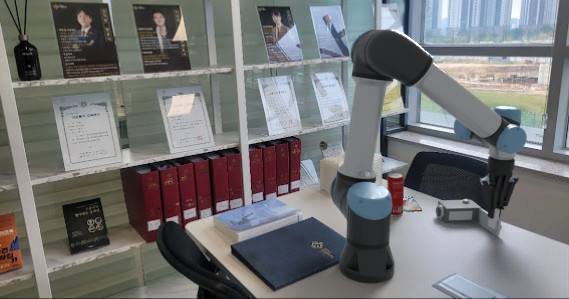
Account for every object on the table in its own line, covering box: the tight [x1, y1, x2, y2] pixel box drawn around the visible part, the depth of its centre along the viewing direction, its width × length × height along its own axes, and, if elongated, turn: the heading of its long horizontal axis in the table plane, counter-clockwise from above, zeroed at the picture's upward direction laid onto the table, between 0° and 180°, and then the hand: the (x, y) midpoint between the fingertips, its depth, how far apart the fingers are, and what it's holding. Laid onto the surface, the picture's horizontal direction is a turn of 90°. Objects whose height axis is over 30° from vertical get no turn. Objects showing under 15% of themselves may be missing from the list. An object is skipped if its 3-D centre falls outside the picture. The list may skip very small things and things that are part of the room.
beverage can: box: [386, 172, 405, 217], centre depth 154 cm, size 6×6×15 cm
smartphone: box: [403, 195, 423, 212], centre depth 165 cm, size 8×1×15 cm
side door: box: [477, 207, 503, 237], centre depth 142 cm, size 11×1×5 cm, turn 9°
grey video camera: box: [435, 198, 482, 224], centre depth 151 cm, size 14×8×6 cm, turn 93°
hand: (492, 226), depth 139 cm, fingers closed
